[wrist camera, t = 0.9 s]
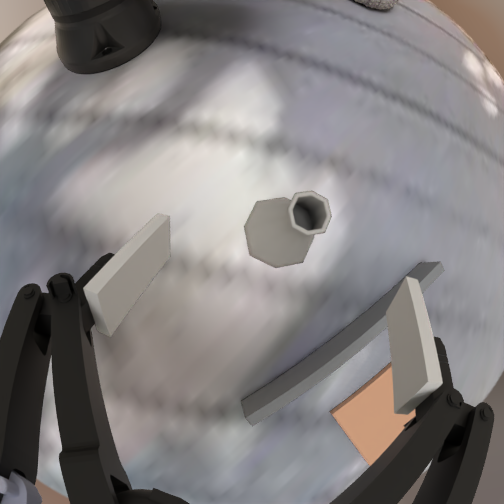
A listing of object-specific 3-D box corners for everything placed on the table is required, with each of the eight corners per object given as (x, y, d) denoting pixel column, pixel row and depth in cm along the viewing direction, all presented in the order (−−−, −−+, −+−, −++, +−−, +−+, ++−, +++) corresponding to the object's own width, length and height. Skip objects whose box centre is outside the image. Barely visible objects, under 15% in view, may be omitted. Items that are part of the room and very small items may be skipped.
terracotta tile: (367, 463, 29) (370, 466, 29) (329, 411, 29) (332, 414, 28) (433, 406, 31) (436, 408, 30) (406, 347, 31) (410, 348, 30)
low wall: (247, 409, 28) (252, 426, 24) (241, 401, 28) (245, 417, 24) (423, 271, 32) (444, 270, 28) (419, 263, 32) (440, 261, 28)
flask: (239, 263, 29) (251, 257, 19) (248, 192, 30) (265, 154, 20) (309, 272, 30) (352, 271, 20) (316, 204, 31) (359, 175, 21)
